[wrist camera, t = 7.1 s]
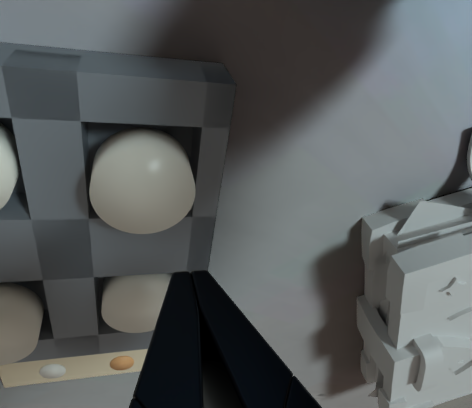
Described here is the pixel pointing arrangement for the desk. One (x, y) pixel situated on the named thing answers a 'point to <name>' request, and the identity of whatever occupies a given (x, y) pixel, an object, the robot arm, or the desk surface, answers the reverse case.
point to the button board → (79, 177)
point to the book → (418, 300)
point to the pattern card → (71, 368)
